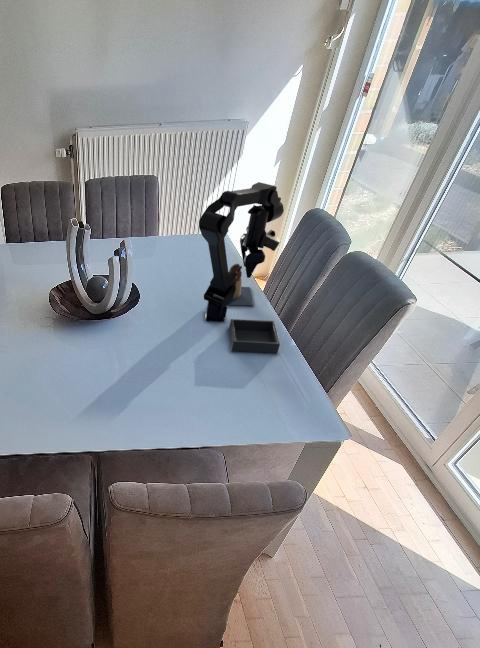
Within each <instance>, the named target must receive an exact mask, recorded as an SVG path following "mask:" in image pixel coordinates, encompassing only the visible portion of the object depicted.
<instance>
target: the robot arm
mask: <svg viewBox="0 0 480 648" xmlns="http://www.w3.org/2000/svg"><path fill="white" fill-rule="evenodd" d="M277 188H278V187H277V186H276V185H273V184H270V183H269V184H268V183H264V182H261V181H260V182H258V181H257V182H255V183H254V184H252V185H251V187H250V188H243V189H237V190H225V191H223V192H222V193H221V194H220V197H218V198H217V199H215V201H213V202H212V203H210V204H209V205H208V206H207V207H206V209H205V210H204V212H203V213H202V215H201V216H200V218H199V220H198V228H199V232H200V234H201V236H202V237H203V238H204V240H205V241H206V242H207V245H208V251H209V257H210V263H211V269H212V278H211V279H210V281H209V285H208V287H207V289H206V291H205V292H204V294H203V300H204V301H206V302H207V305H206V311H205V322H212V323H213V322H215V323H217V322H218V323H224V322H225V318H226V317H227V311H228V305H229V304H230V303H231V301H232V299H233V296H234V294H235V291H236V285H235V284H237V282H236V276H235V274H233V273H230V272H229V266H228V260H227V250H226V243H225V237H226V236H227V234H228V232H229V229H230V226H231V225H232V224H233V222H234V220H235V214H236V210H237V209H238V207H243V206H249V205H252V206H251V208H249V210H248V211H247V214H249V220H248V223H247V224H248V226H246V229H245V231H246V233H242V235H240V238H239V246H240V251H241V252H240V253H241V257H242V264H243V267H245V273H246V274H245V275H246V278H247V279H250V278H251V277H252V275H253V274H254V271H255V269H256V268H257V266H258V265H259V264H262V263H265V260H266V254H265V251H264V250H263V249H264V248H267V249H270V250H271V251H273V252H275V251H276V250H277V248H278V246H279V245H280V243H281V241H280V239H279V237H278V236H277V235H276V231H275V230H273V229H270V230H268V231H266V228H267V223H270V222H273V221H276V220H277V219H279V218H281V217H282V216H283V214H284V212H285V211H284V210H285V209H284V204H283V203H282V197H279V193H278V190H277ZM224 207H228V208H229V212H228V213H227V214H226V215H223V214H221V213H217V212H219V211H220V210H221V209H223V208H224ZM214 294H216V295H218V296H216V295H214ZM219 296H220V297H219ZM221 297H223V298H221Z"/></svg>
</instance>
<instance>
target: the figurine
mask: <svg viewBox="0 0 480 648" xmlns="http://www.w3.org/2000/svg"><path fill="white" fill-rule="evenodd" d="M242 268H243V266H242V265H240V263H234V264H232V265H231V266H230V268H229V269H228V272H230V273H233V274H235V276H236V282H237V284H235V285H236V291H235V294H234V296H233V299H235V298H238V297H239V296H240V294H241V287H242V284H243V283H242V273H243V272H242Z"/></svg>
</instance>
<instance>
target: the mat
mask: <svg viewBox="0 0 480 648" xmlns="http://www.w3.org/2000/svg"><path fill="white" fill-rule="evenodd" d="M214 295H216V294H214ZM216 296H218V295H216ZM219 297H220V296H219ZM221 298H223V297H221ZM228 306H230V307H232V306H233V307H254V304H253V298H252V294H251V289H250V286H241V294H240V296H239V297H238V298H235V299H232V301H231V303H230V304H229V305H227V307H228Z"/></svg>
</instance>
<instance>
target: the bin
mask: <svg viewBox="0 0 480 648" xmlns="http://www.w3.org/2000/svg"><path fill="white" fill-rule="evenodd" d="M228 335H229V342H230V350H231V353H244V354H265V355H278V352H279V349H280V346H281V342H280V339H279V335H278V331H277V327H276V322H275V320H259V319H239V318H237V319H236V318H231V319H230V322H229V327H228Z"/></svg>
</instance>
